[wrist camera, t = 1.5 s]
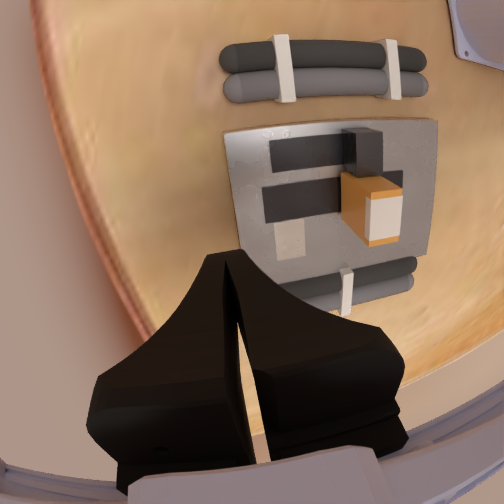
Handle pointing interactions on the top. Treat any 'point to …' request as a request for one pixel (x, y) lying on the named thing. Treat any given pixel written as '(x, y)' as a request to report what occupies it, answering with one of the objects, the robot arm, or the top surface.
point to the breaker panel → (327, 191)
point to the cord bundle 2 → (355, 285)
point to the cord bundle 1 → (321, 69)
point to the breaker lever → (371, 208)
